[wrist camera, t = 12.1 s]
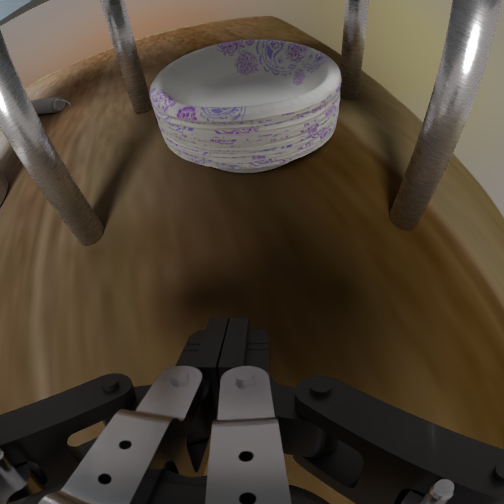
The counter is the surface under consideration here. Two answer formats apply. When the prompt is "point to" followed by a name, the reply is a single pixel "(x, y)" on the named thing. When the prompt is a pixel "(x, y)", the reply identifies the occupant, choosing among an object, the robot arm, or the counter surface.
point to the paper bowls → (247, 104)
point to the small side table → (355, 20)
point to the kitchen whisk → (49, 105)
